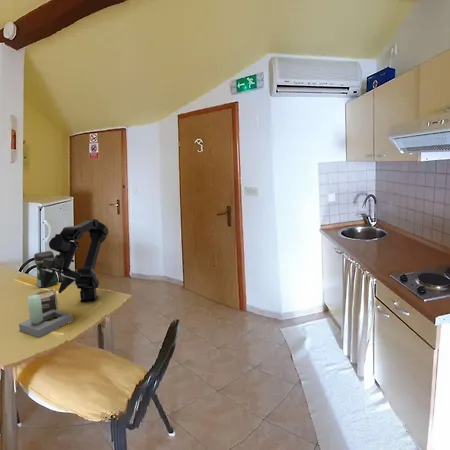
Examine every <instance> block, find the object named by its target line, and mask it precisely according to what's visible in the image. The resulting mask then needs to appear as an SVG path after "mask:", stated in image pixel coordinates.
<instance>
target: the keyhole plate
mask: <svg viewBox="0 0 450 450" xmlns="http://www.w3.org/2000/svg"><path fill="white" fill-rule="evenodd" d="M52 317H53V318H56V317H59V318H56V319H53V318H52ZM50 318H51V319H53V320H51V319H50ZM48 319H49V320H51V321H48ZM73 320H74V319H73V315H72V314H71V313H67V312H64V311H60V310H58V309H57V310H54V309H53V310H50V311H48V312H46V313H43V321H41V322H40V324H39V325H34V323H31V321H30V318H29V319H28V320H25V321H23V322H20V323H19V324H18V327H19V332H23V333H25V334H28V335H31V336H34V337H36V338H41V337H44V336H45V335H47V334H49V333H52V332H54V331H55V329H56V330H57V328H58V327H60V326H62V325H64V324H66V323H68V322H70V321H72V322H73ZM70 323H71V322H70ZM68 324H69V323H68ZM66 325H67V324H66ZM64 326H65V325H64ZM62 327H63V326H62ZM60 328H61V327H60ZM58 329H59V328H58ZM53 330H54V331H53Z"/></svg>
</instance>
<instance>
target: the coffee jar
mask: <svg viewBox="0 0 450 450" xmlns="http://www.w3.org/2000/svg"><path fill="white" fill-rule="evenodd" d="M45 258H55V254H54V252H53V251H52V250H48V251H42V252H36V253H34V256H33V259H34V264H35V265H36V272H37V273H36V277H37V278H36V281H37V282H36V283H37V287H39V288H42V287H43V278H44V276H43V272H42V271H41V270H40V269H42V268H39V266H40V264H41V263H42V262H43V259H45ZM52 273H55V275H54V276H53V278H52V279H51V281H50V283H49V284H48V286H49V287H52V286H55V285H57V284H58V277H57V273H56V271H55V272H52ZM48 286H47V287H46V288H48Z"/></svg>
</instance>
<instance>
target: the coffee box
mask: <svg viewBox="0 0 450 450" xmlns="http://www.w3.org/2000/svg"><path fill="white" fill-rule="evenodd" d="M33 295H40V297H41V305H42V313H46V312H48V311H50V310H53V309H54V310H57V311H58V297H57V296H58V295H57V290H56V288H49V289H42V290H35V291H34V292H33Z"/></svg>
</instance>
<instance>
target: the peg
mask: <svg viewBox="0 0 450 450" xmlns="http://www.w3.org/2000/svg"><path fill="white" fill-rule="evenodd" d="M27 302H28V303H27V304H28V312H29V319H30V321H31V323H34V325H39V324H41V323H40V322H41V321H43V313H42V305H41V297H40V295H34V294H32V295H29V296H27Z"/></svg>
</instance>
